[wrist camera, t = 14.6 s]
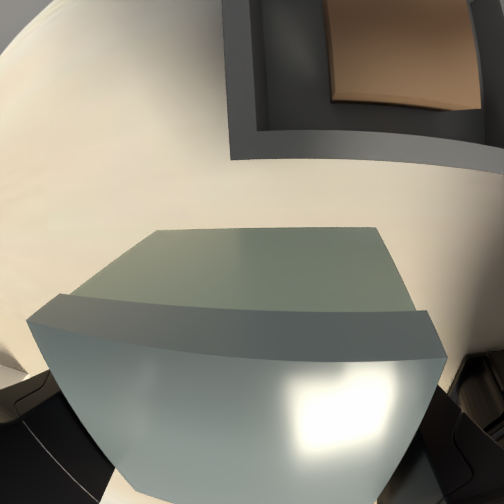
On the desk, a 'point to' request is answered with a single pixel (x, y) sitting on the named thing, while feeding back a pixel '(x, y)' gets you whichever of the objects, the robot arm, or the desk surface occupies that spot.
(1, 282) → the desk surface
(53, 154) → the desk surface
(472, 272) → the desk surface
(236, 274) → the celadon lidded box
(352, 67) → the walnut block
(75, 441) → the robot arm
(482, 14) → the tote
